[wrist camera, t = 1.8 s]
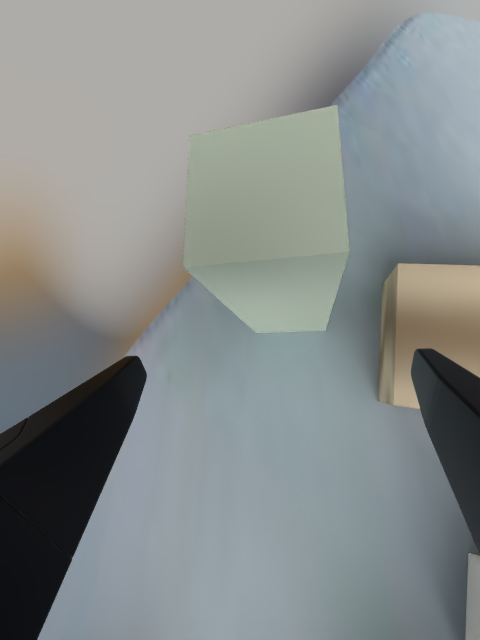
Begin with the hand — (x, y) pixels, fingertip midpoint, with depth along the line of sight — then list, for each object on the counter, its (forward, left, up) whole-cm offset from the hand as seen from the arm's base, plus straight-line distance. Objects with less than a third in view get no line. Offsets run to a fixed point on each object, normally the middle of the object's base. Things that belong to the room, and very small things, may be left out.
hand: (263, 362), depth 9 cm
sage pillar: (+5, +1, -11) cm, 13 cm away
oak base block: (+3, -10, -12) cm, 16 cm away
